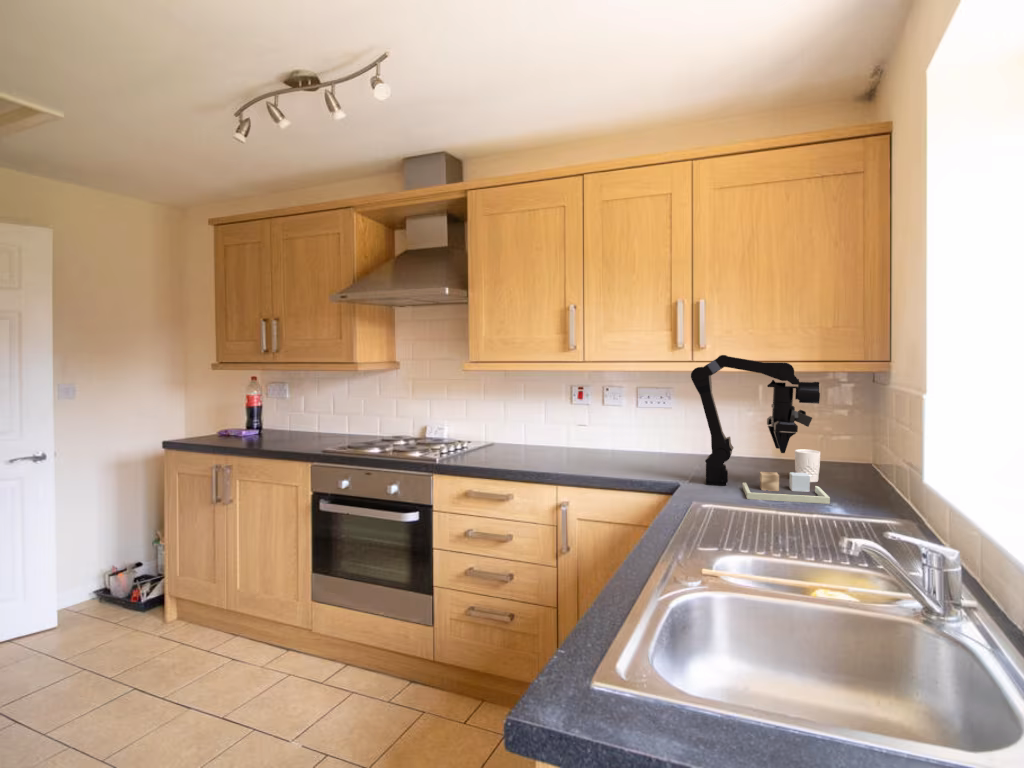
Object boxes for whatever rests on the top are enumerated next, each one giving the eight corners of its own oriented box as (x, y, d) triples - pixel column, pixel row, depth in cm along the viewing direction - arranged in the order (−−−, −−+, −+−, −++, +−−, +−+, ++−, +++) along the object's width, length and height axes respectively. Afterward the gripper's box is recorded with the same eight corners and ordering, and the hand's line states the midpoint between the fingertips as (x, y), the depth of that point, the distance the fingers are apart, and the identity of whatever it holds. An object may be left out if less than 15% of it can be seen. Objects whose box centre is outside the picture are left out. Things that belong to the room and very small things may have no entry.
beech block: (761, 490, 183) (761, 474, 183) (759, 487, 188) (759, 471, 188) (778, 491, 182) (779, 475, 182) (776, 487, 187) (776, 472, 187)
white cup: (812, 477, 201) (812, 449, 201) (825, 482, 194) (825, 452, 193) (789, 478, 201) (790, 449, 201) (801, 483, 193) (802, 453, 193)
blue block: (792, 491, 182) (792, 475, 182) (789, 487, 187) (789, 472, 187) (809, 492, 181) (809, 476, 181) (806, 488, 186) (806, 473, 185)
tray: (747, 499, 172) (747, 493, 172) (742, 488, 186) (742, 482, 186) (829, 503, 166) (830, 497, 166) (818, 492, 180) (818, 486, 180)
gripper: (817, 405, 173) (814, 457, 174) (804, 400, 191) (801, 447, 192) (777, 404, 176) (774, 455, 177) (767, 399, 194) (765, 445, 195)
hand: (780, 450), depth 185 cm, fingers open, 9 cm apart
